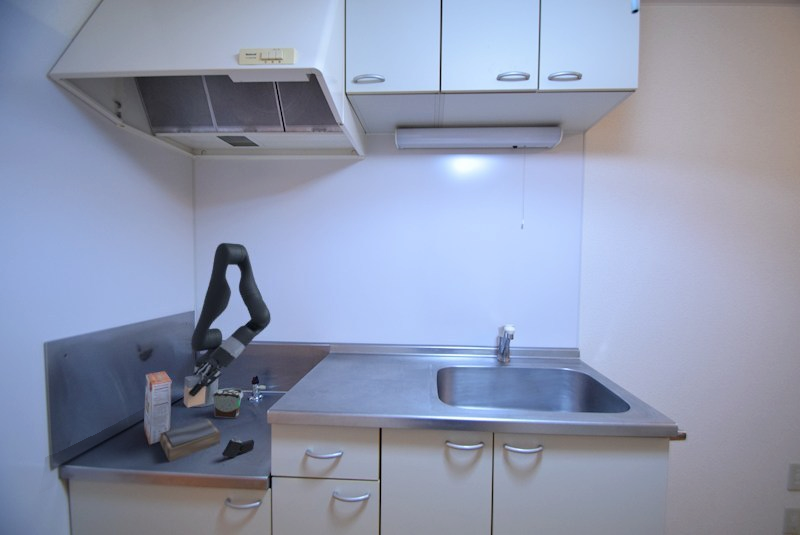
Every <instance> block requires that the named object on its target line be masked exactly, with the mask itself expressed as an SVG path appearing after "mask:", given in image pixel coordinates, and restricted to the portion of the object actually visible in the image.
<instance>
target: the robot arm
mask: <svg viewBox="0 0 800 535" xmlns="http://www.w3.org/2000/svg"><path fill="white" fill-rule="evenodd" d="M248 253H249V252H248V250H247V248H246V247H245V246H244V244H240V243H229V242H221V243H219V244H218V245H217V247H216V249H215V252H214V256H213V263H212V269H211V274H210V275H211V276H210V278H209V279H210V280H209V283H208V286H207V289H206V293H205V295H204V301H203V305H202V308H201V312H200V315H199V318H198V321H197V324H196V326H195V328H194V331H193V333H192V336H191V343H190V344H191V349H192V351H195V352H204V351H206V352H205V353H204V354H203V355H201V356H199V357H197V358H196V359H195V360H194V373H193V374H192V376H193V375H200V374H203V375H202V379H201V380H200V381H199V382H198V383H197V384H196V385H195V386H194V387H193V388H192V390H191V391H190V392H189V395H191V396H193V397H194V396H195V395H196V394H197V393H198V392H199V391H200V390H201V389H202V388H203V387H205V386H206V391H205V403H203V404H200V405H196V406H194V407H195V408H202V407H203V408H204V407H208V406H212V405H214V397H212V396H213V393H214V392H215V391H217V390H219V377H221V376H222V375H223V372H221V369H223V367H224V368H228V367H229V366H231V364H232V363H234V361H235V360H236V359H237V358H238V357H239V356H240V355H241V354H242V353H243V351H244V349H245V348H246V347H247V346H248V345H249V344H250V343H251V342H252V341H253V340H254V338H256V337H257V336H258V335H259V334H260V333H262V332H263V331H264V330H265V329H266V328H267V327H268V326H269V325H270V323H271V319H272V318H271V313H270V310H269V308H268V306H267V304H266V303H265V301H264V299H263V296H262V294H261V292H260V289H259V287H258V285H257V283H256V279H255V277H254V273H253V268H252V264H251V260H250V256H249V254H248ZM232 265H233V266H237V267H238V268H239V271H240V278H239V283H238V291H239V295H240V297H241V299H242V301H243V304H244V306H245V307H246V308H247V311H248V313H249V316H250V320H249V321H247V322H246V323H245V324H244V325H241V326H239V327H238V328H237V329H236V330H235V331H234V332H232V333H231V334H230V336H229V337H228V338H226V339H225V340H224V341H223V334H222V330H221V329H219V328H216V327H215V328H210V327H212V324H213V323H214V322H215V320H217V319H218V318H219V316H221V315H222V314H223V313H224V312H225V311H226V309H227V307H228V305H229V302H230V300H231V296H232V295H231V294H232V291H231V287H230V284H229V282H228V280H227V276H226V275H227V269H228V267H229V266H232Z"/></svg>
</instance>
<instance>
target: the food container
mask: <svg viewBox="0 0 800 535" xmlns="http://www.w3.org/2000/svg"><path fill="white" fill-rule="evenodd" d="M212 397H214V404H213V406H214V407H213V409H214V410H213V411H214V418H227V419H237V418H238V417H239V414H240V408H241V399H243V397H244V393H243V390H242V389H241V388H239V387H228V388H221V389H218V390H217V391H215V392H214V393H213V396H212Z"/></svg>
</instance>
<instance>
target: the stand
mask: <svg viewBox="0 0 800 535" xmlns="http://www.w3.org/2000/svg"><path fill="white" fill-rule="evenodd" d="M220 443H221V431H219V429H218V428H217V427H216V426H215V425H214V424H213V422H211V421H210V419H209V418H205V419H202V420H200V421H199V420H198V421H196V422H193V423H189V424H186V425H183V426H180V427H176V428H173V429H170V430H169V431H166V432H163V433H161V440H160V442H159V444H160V446H161V447H162V450H163V451H164V454H165V455H166V457H167V459H168V461H169V462H173V461H175V460H179V459H182V458H184V457H186V456H189V455H192V454H194V453H197V452H200V451H202V450H205V449H208V448H210V447H213V446H216V445H219V444H220Z"/></svg>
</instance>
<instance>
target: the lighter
mask: <svg viewBox="0 0 800 535" xmlns="http://www.w3.org/2000/svg"><path fill="white" fill-rule="evenodd" d="M241 438H242V437H241V436H239V435H237V436H234V437H233V439H232V438H231V439H229V441H228V443H227V445H226V447H225V448H224V450H223V452H222V456H224V457H229V458H236V456H237V454H238V453H239V452H240V453H241V454H242V453H248V452H251V451H252V450H253V449H254V446H255V441H254V439H250V440H249V439H248V440H246V441H245V440H244V441H242V440H241Z"/></svg>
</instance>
